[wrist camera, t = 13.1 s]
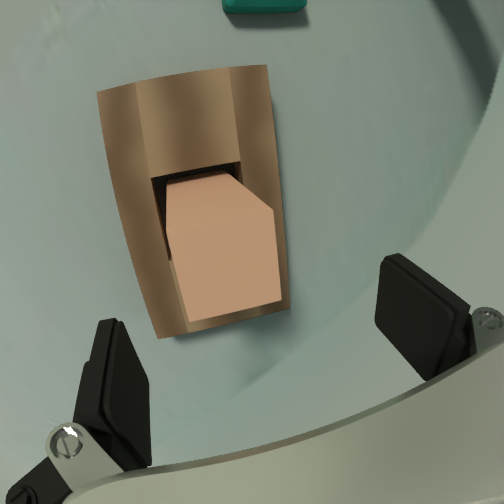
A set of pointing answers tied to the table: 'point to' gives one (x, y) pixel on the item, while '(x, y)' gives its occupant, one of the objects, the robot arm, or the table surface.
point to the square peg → (221, 245)
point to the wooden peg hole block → (187, 158)
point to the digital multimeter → (262, 6)
